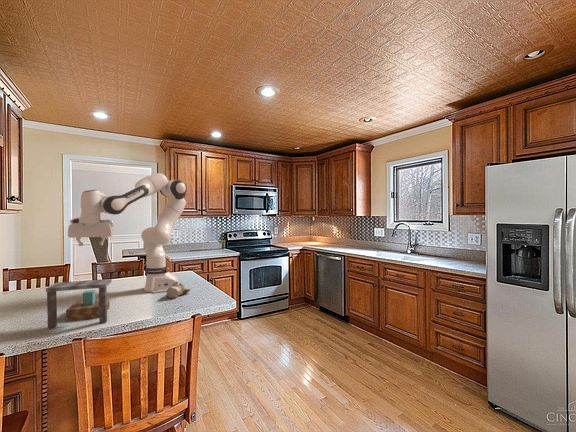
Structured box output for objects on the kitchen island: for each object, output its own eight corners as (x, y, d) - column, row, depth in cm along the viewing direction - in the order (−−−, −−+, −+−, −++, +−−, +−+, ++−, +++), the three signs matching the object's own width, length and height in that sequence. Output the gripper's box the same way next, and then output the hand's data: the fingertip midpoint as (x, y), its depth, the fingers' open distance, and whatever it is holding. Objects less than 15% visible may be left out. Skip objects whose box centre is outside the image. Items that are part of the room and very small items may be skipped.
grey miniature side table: (118, 306, 151) (117, 273, 151) (106, 323, 130) (105, 284, 129) (68, 311, 144) (67, 276, 144) (46, 329, 123) (45, 288, 122)
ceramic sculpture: (161, 283, 164) (175, 278, 179) (160, 298, 164) (175, 292, 179) (178, 284, 162) (191, 279, 177) (178, 300, 162) (191, 294, 177)
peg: (95, 312, 144) (95, 289, 143) (92, 314, 140) (92, 292, 139) (86, 313, 142) (85, 290, 142) (83, 315, 139) (82, 292, 138)
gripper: (114, 219, 163) (114, 244, 163) (71, 219, 156) (71, 245, 157) (111, 219, 157) (111, 245, 157) (66, 220, 150) (66, 247, 151)
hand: (91, 245), depth 157 cm, fingers open, 8 cm apart
